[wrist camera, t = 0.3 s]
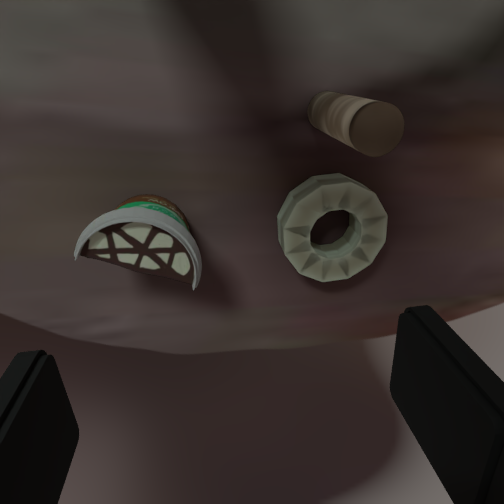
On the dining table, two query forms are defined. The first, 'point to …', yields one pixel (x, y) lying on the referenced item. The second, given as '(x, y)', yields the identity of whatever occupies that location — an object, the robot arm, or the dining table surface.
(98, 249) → the food container
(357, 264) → the bead
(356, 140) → the peg
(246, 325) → the dining table surface
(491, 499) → the robot arm
